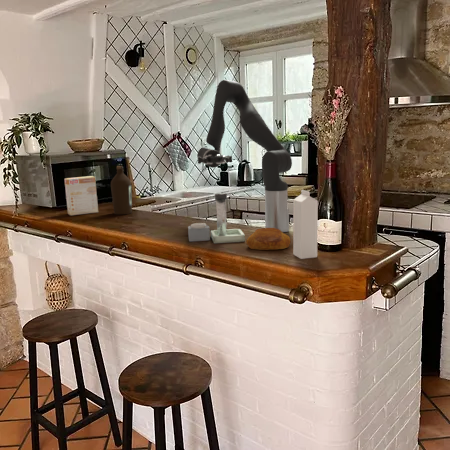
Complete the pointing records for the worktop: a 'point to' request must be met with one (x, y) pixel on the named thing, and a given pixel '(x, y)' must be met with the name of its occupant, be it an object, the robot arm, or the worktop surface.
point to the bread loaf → (268, 239)
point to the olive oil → (121, 193)
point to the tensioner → (198, 232)
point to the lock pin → (221, 214)
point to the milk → (305, 226)
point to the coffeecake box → (81, 195)
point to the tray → (228, 236)
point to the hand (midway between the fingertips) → (216, 160)
